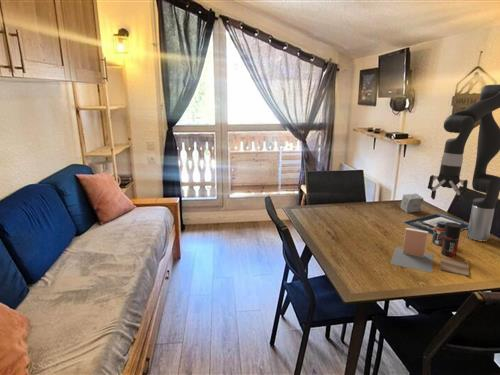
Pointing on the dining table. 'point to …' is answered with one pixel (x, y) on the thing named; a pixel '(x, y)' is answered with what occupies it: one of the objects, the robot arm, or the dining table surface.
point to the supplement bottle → (439, 233)
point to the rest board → (454, 266)
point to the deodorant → (450, 239)
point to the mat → (412, 260)
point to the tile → (415, 242)
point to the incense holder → (411, 203)
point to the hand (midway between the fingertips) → (444, 201)
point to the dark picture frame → (432, 222)
